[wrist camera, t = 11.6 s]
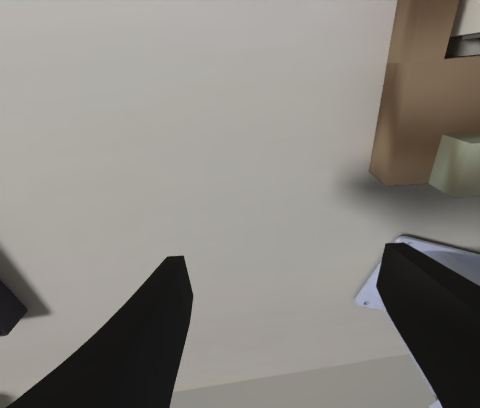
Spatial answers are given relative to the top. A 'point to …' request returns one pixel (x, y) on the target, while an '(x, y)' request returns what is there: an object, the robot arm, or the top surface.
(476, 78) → the brown slotted block base
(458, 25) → the block
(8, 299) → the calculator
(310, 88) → the top surface
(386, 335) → the top surface
